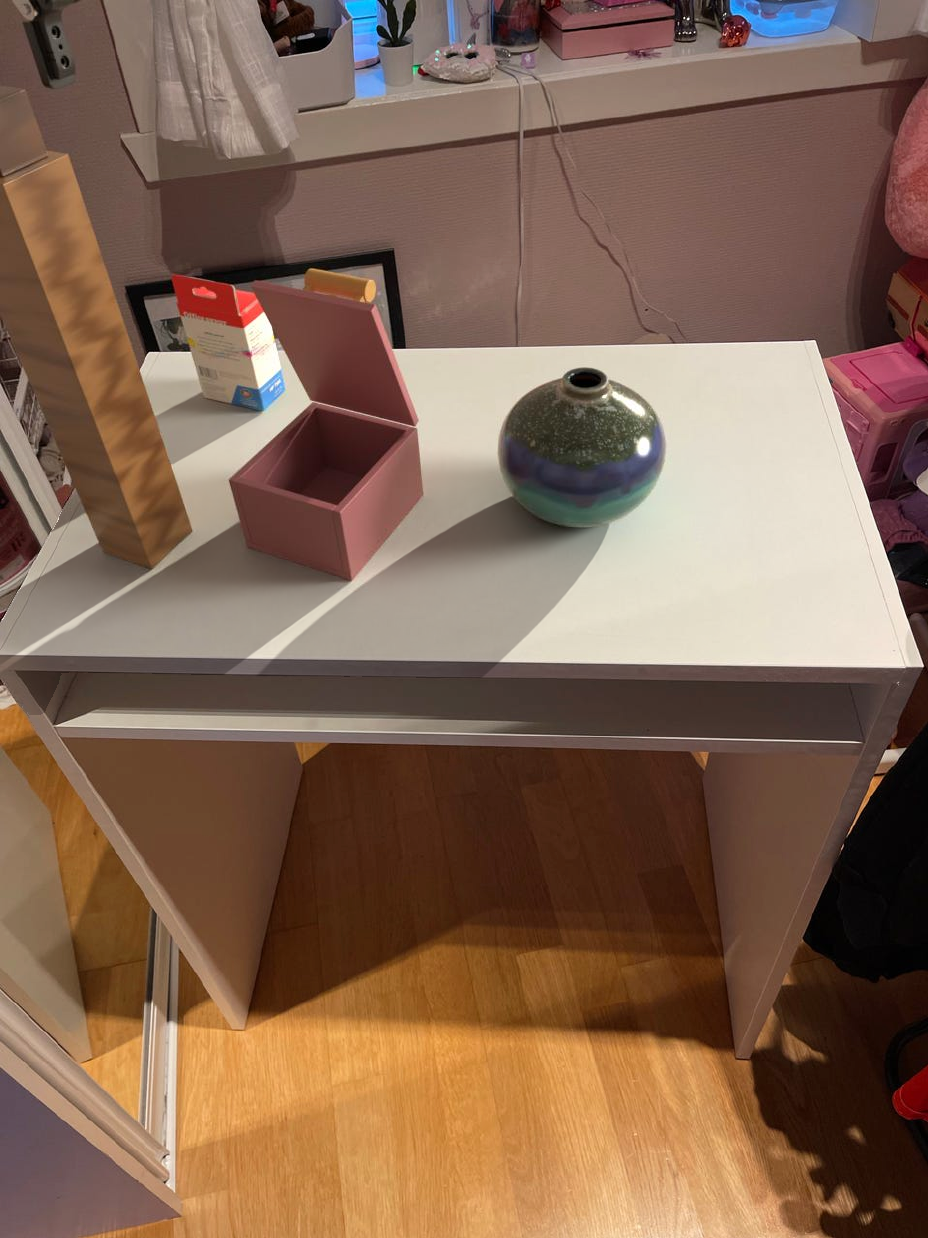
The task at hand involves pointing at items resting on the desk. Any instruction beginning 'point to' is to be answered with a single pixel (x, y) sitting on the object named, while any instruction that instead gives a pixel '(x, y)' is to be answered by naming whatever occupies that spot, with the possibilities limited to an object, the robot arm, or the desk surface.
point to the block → (18, 132)
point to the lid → (338, 344)
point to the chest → (329, 489)
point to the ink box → (229, 343)
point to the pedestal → (84, 364)
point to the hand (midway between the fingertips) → (14, 78)
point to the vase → (581, 449)
